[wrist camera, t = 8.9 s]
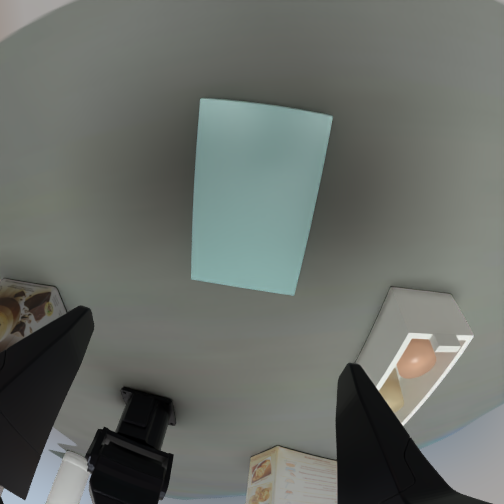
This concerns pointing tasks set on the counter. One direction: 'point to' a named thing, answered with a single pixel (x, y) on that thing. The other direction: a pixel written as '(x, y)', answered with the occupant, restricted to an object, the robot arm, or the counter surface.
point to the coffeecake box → (291, 478)
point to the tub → (413, 347)
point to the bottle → (69, 480)
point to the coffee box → (26, 309)
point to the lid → (255, 192)
